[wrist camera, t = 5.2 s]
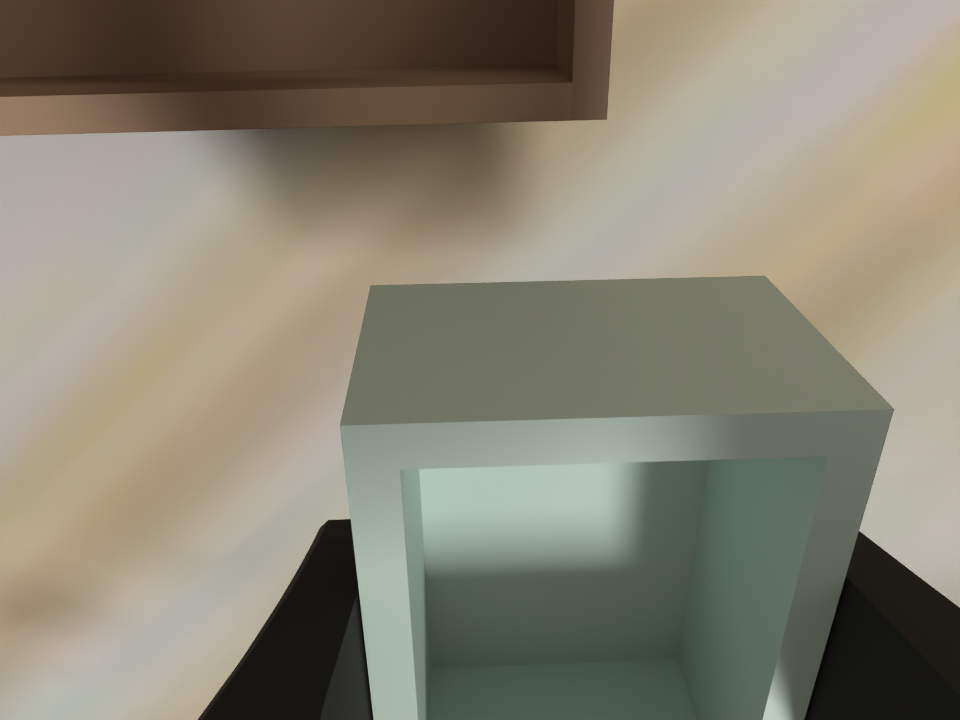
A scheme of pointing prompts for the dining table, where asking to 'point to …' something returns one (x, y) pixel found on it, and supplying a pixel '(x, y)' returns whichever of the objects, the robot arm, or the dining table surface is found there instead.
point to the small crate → (601, 498)
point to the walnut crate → (298, 63)
